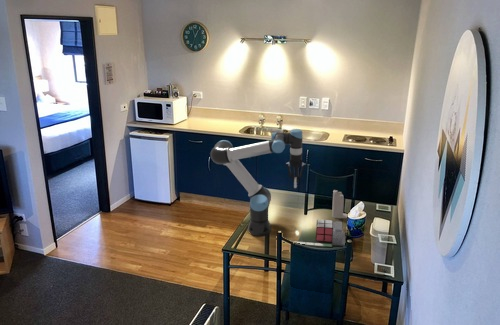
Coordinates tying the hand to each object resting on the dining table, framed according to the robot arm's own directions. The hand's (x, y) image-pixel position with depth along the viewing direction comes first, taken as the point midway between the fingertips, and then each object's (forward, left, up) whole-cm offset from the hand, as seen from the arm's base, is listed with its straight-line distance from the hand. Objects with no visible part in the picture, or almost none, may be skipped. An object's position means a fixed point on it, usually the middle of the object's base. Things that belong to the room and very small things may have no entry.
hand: (295, 187), depth 262 cm
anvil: (+29, -17, -26) cm, 43 cm away
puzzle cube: (+20, -16, -27) cm, 37 cm away
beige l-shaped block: (+32, +14, -27) cm, 44 cm away
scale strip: (+13, -26, -26) cm, 39 cm away
